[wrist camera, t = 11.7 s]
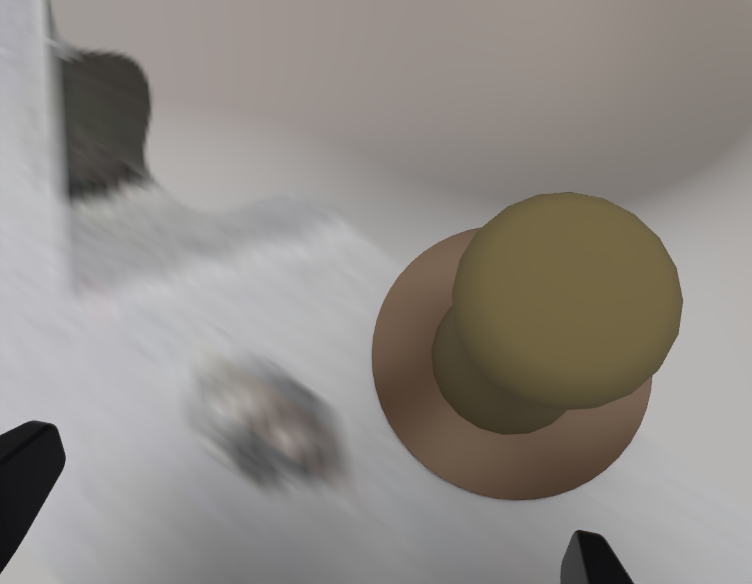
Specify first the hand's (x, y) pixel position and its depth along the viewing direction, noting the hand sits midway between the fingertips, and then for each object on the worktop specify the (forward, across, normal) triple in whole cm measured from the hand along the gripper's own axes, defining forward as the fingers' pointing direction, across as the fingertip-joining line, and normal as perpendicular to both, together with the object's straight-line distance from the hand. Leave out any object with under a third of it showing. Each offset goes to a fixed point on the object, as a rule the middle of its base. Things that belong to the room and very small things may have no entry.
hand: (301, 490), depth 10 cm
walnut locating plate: (+13, -5, +6) cm, 15 cm away
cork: (+13, -5, +6) cm, 15 cm away
